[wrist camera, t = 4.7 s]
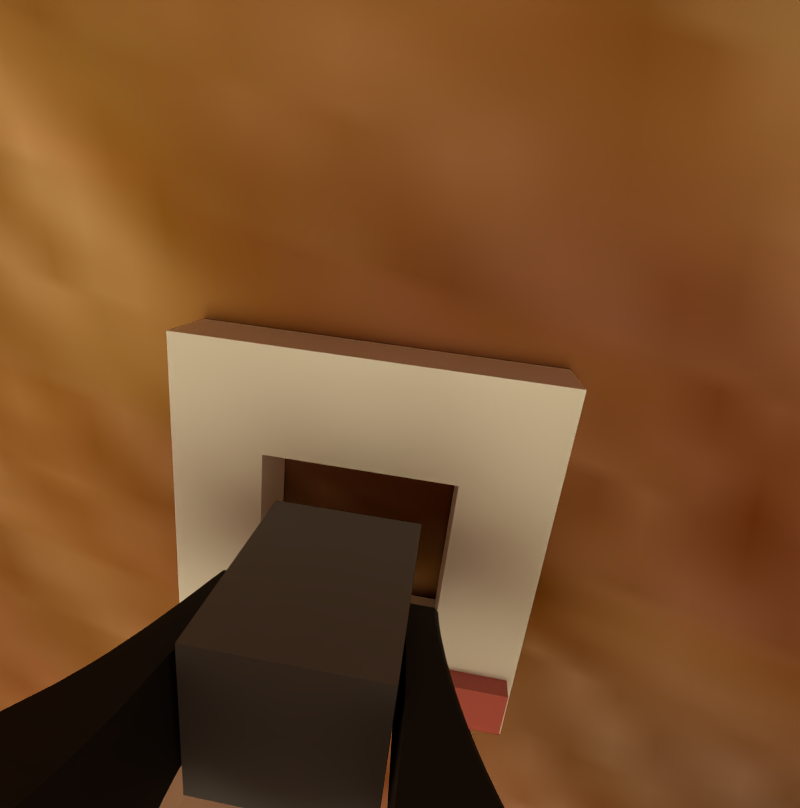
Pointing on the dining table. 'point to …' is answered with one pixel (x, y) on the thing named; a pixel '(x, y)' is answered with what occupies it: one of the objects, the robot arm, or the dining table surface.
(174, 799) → the shot glass
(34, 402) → the dining table surface
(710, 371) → the dining table surface
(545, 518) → the socket plate
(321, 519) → the plug
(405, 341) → the dining table surface
